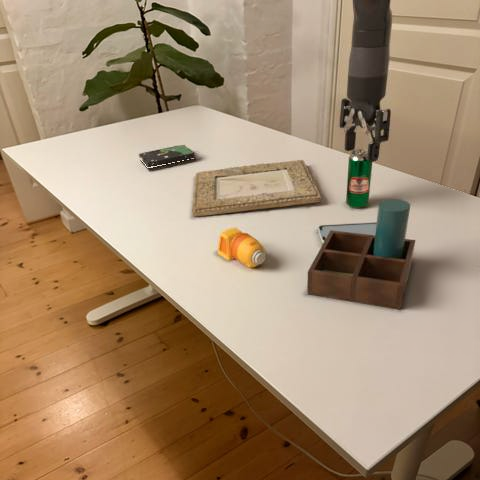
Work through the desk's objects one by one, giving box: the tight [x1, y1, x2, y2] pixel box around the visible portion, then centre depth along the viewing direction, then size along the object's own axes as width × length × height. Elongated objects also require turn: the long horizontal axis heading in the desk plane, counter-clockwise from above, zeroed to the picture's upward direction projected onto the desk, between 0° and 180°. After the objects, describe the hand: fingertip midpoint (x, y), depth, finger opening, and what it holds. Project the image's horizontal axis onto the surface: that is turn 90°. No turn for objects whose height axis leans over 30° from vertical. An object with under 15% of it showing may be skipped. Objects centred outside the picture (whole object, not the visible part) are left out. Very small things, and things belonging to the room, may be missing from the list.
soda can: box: [345, 148, 373, 209], centre depth 103 cm, size 5×5×12 cm
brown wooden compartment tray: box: [306, 230, 416, 310], centre depth 81 cm, size 15×15×5 cm
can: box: [373, 198, 411, 259], centre depth 80 cm, size 5×5×12 cm
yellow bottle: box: [217, 227, 266, 268], centre depth 89 cm, size 5×6×12 cm
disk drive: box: [138, 144, 196, 171], centre depth 140 cm, size 10×3×15 cm
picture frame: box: [191, 159, 322, 218], centre depth 117 cm, size 27×30×3 cm
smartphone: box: [317, 221, 377, 244], centre depth 94 cm, size 7×1×15 cm
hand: (360, 155), depth 100 cm, fingers open, 8 cm apart
